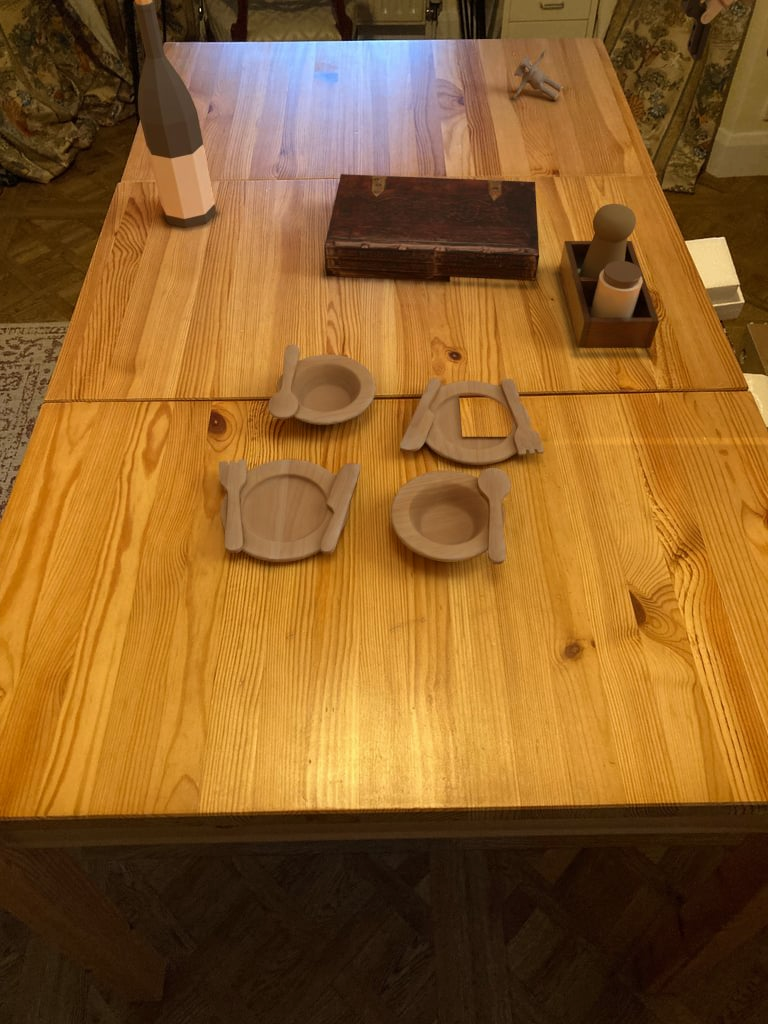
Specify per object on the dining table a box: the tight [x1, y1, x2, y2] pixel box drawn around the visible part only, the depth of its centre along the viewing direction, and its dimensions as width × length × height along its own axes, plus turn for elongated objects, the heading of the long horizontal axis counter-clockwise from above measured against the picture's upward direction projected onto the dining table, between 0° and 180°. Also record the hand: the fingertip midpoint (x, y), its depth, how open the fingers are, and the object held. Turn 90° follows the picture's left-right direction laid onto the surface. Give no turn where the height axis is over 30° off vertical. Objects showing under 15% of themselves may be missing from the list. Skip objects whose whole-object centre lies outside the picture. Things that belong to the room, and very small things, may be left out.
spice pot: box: [589, 261, 643, 318], centre depth 96 cm, size 5×5×8 cm
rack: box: [559, 240, 660, 349], centre depth 101 cm, size 9×17×5 cm, turn 0°
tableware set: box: [218, 344, 545, 565], centre depth 84 cm, size 35×29×4 cm
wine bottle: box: [133, 0, 216, 229], centre depth 106 cm, size 8×8×30 cm
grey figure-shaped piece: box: [512, 48, 564, 101], centre depth 141 cm, size 10×6×9 cm
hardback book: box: [324, 173, 540, 282], centre depth 111 cm, size 29×19×5 cm, turn 85°
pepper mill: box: [579, 203, 637, 277], centre depth 100 cm, size 6×6×11 cm
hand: (733, 58), depth 85 cm, fingers open, 8 cm apart
